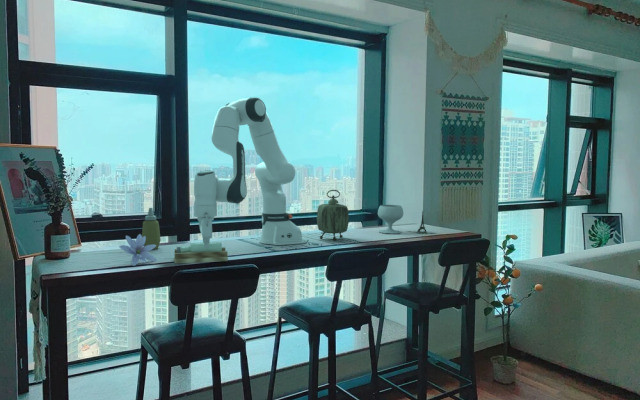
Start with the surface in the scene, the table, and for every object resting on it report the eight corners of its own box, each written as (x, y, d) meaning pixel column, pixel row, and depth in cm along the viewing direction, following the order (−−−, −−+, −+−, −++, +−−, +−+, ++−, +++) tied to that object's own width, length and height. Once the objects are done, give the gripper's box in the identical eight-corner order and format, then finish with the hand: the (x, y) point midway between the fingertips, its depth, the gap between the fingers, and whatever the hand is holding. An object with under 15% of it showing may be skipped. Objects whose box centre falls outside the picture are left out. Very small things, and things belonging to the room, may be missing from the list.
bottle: (220, 253, 198) (220, 241, 198) (221, 255, 193) (221, 242, 193) (176, 255, 193) (176, 243, 193) (176, 257, 188) (176, 244, 188)
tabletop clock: (343, 237, 250) (344, 189, 248) (349, 240, 241) (350, 190, 239) (316, 238, 245) (317, 189, 243) (322, 241, 237) (322, 190, 235)
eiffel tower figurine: (405, 232, 274) (405, 208, 273) (417, 230, 280) (417, 207, 279) (425, 235, 262) (426, 211, 261) (437, 234, 269) (438, 210, 268)
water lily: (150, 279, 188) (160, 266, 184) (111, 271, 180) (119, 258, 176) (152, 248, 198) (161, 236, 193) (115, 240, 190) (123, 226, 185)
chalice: (388, 230, 278) (388, 203, 277) (408, 232, 268) (408, 205, 267) (372, 232, 269) (372, 205, 268) (391, 235, 259) (392, 207, 257)
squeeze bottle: (154, 250, 210) (154, 209, 208) (137, 249, 211) (136, 208, 210) (164, 247, 218) (163, 207, 216) (147, 246, 219) (147, 206, 218)
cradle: (224, 255, 202) (224, 246, 202) (227, 260, 190) (227, 252, 190) (174, 257, 196) (174, 248, 196) (174, 263, 185) (174, 254, 184)
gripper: (215, 214, 183) (216, 250, 184) (211, 208, 203) (212, 241, 204) (198, 214, 181) (198, 251, 183) (196, 209, 201) (196, 242, 202)
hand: (205, 246), depth 193 cm, fingers open, 8 cm apart
